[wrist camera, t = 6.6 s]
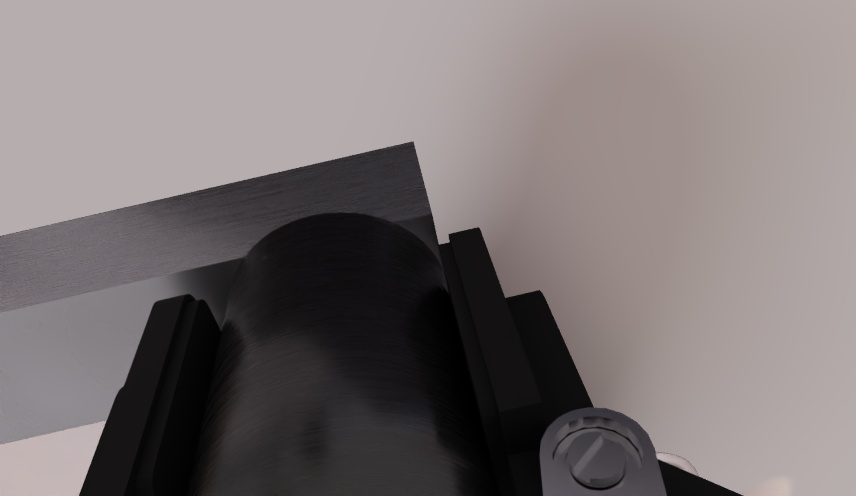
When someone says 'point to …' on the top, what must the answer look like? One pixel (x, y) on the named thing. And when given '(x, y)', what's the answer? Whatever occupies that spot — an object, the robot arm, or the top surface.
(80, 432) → the top surface
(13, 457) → the top surface
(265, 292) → the grey piece
